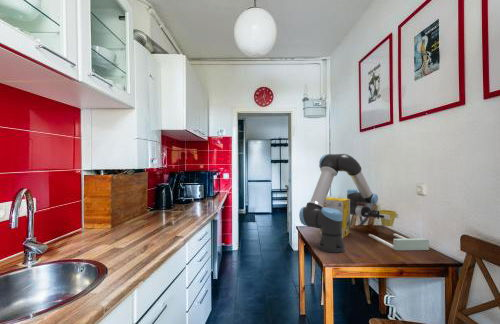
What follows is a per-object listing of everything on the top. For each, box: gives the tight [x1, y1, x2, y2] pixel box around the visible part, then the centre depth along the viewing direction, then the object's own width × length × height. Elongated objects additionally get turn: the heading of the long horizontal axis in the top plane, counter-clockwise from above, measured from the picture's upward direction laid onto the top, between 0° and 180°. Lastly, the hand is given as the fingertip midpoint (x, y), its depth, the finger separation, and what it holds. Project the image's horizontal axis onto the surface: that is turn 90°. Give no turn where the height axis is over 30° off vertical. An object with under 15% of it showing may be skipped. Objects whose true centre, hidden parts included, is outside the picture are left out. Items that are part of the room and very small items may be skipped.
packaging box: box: [319, 196, 351, 239], centre depth 192 cm, size 16×16×25 cm
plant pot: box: [378, 209, 397, 227], centre depth 183 cm, size 10×10×10 cm
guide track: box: [368, 233, 430, 251], centre depth 173 cm, size 32×20×6 cm, turn 4°
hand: (393, 216), depth 179 cm, fingers closed on plant pot, 10 cm apart
